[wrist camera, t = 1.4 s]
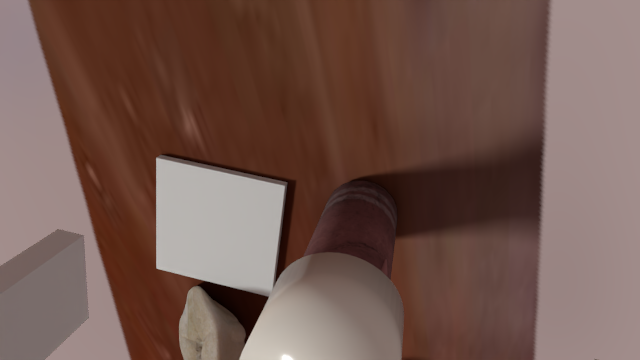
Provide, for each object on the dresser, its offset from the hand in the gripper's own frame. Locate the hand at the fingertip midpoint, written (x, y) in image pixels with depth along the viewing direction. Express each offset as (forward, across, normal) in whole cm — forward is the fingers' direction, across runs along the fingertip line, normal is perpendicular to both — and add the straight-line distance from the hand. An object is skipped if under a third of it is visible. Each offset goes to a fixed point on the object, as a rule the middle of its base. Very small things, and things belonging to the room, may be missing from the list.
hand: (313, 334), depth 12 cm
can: (+28, 0, -9) cm, 30 cm away
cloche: (+14, 0, -10) cm, 17 cm away
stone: (+28, -13, -26) cm, 40 cm away
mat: (+28, -13, -14) cm, 34 cm away
